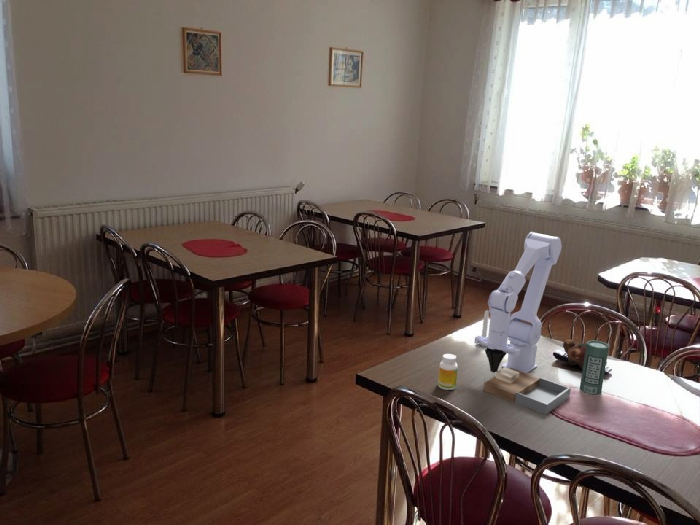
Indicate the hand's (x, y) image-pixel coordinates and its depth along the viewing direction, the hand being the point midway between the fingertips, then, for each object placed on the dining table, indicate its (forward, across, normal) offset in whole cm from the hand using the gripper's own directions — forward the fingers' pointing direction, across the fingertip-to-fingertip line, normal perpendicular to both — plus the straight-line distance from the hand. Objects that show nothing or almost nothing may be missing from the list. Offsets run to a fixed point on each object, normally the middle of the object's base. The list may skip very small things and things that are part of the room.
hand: (493, 371), depth 190 cm
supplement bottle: (+3, -7, -14) cm, 16 cm away
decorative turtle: (+3, +14, +32) cm, 35 cm away
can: (+3, +24, +17) cm, 29 cm away
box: (+3, +16, 0) cm, 16 cm away
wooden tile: (+1, +5, 0) cm, 5 cm away
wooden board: (+3, +7, 0) cm, 7 cm away
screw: (+3, -18, +23) cm, 29 cm away
